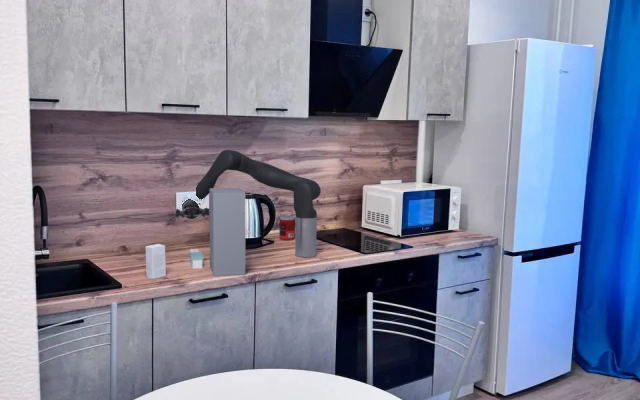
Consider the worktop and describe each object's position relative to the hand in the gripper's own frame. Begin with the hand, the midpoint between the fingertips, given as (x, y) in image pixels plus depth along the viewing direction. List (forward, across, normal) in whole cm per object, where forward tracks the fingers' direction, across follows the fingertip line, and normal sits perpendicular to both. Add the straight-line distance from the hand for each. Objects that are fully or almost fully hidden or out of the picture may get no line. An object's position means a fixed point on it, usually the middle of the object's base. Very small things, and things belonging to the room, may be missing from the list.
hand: (193, 214), depth 257 cm
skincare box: (+30, -17, +18) cm, 39 cm away
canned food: (-28, +48, +19) cm, 58 cm away
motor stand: (+28, +10, +19) cm, 35 cm away
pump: (+10, 0, +18) cm, 21 cm away
